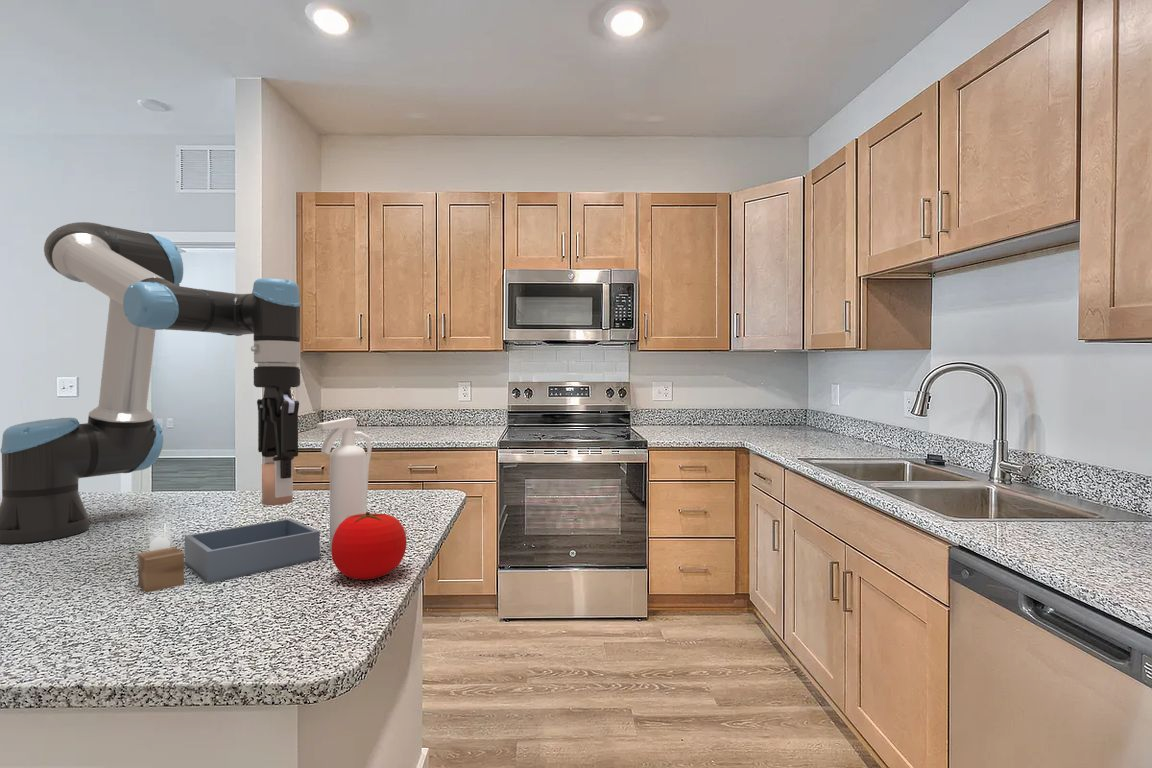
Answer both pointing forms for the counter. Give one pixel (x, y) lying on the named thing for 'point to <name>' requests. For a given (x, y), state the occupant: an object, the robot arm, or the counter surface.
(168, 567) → the walnut cube
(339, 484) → the white spray bottle
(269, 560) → the tote
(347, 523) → the tomato
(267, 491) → the peach rounded cylinder
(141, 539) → the counter surface
